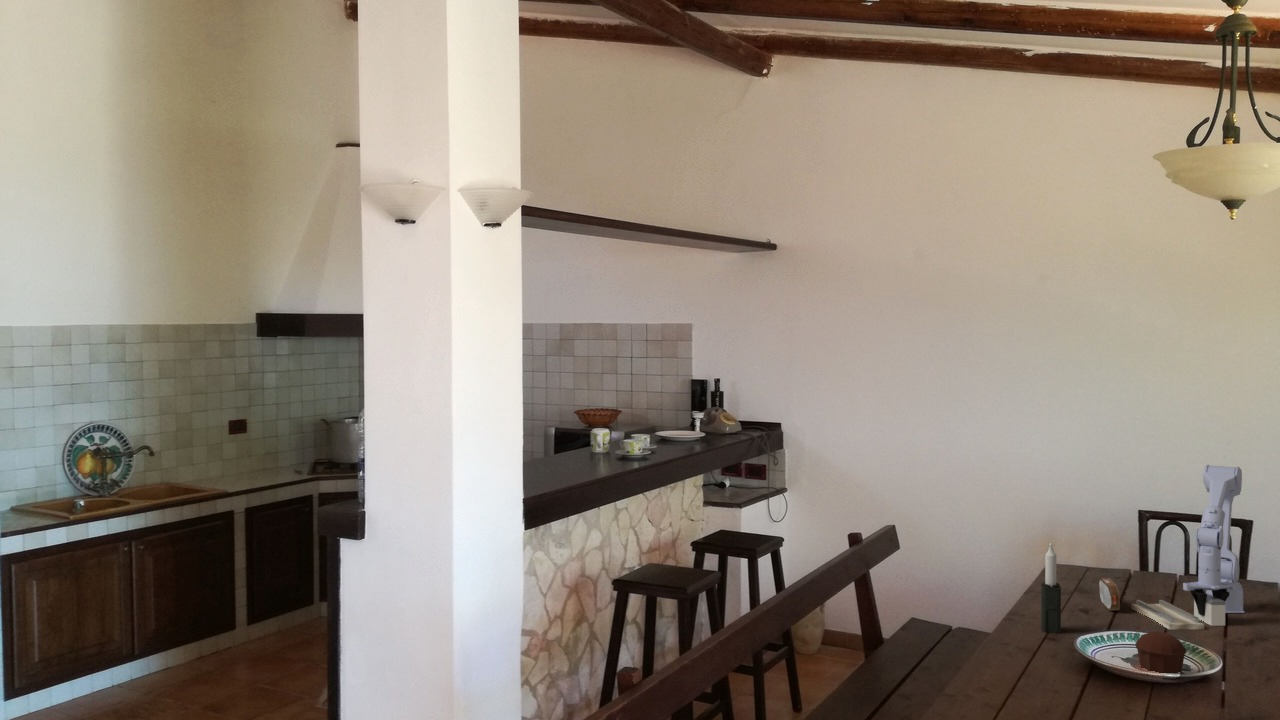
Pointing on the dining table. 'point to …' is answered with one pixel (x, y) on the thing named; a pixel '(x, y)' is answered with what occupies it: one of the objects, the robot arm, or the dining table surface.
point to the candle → (1050, 596)
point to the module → (1212, 611)
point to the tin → (1109, 594)
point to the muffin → (1160, 652)
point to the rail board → (1168, 615)
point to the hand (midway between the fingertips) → (1209, 614)
